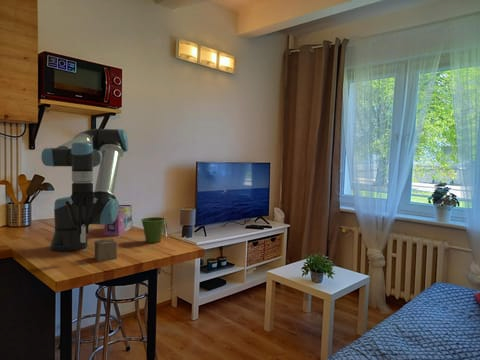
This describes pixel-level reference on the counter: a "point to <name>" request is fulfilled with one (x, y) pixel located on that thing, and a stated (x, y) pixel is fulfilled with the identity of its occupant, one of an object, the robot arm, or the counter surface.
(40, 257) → the counter surface
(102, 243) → the block
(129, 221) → the gum box
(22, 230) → the counter surface
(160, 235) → the plant pot
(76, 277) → the counter surface
